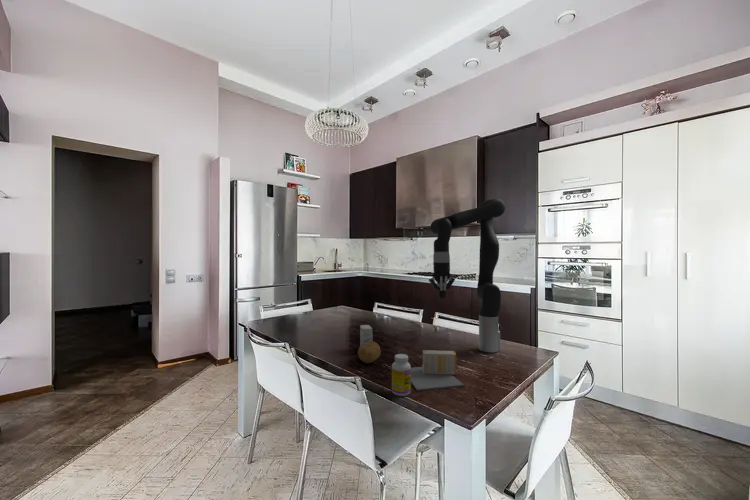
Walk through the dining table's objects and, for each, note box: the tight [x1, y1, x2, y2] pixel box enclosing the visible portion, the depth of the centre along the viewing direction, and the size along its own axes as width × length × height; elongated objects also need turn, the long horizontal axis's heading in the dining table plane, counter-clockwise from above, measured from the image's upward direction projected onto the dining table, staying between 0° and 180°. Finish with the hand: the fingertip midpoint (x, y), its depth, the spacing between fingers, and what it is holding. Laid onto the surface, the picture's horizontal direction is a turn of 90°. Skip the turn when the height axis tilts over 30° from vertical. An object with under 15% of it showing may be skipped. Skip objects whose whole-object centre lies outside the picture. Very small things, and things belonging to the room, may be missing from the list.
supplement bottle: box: [391, 353, 412, 397], centre depth 112 cm, size 7×7×13 cm
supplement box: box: [422, 349, 457, 375], centre depth 129 cm, size 8×5×13 cm
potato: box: [357, 341, 382, 364], centre depth 142 cm, size 10×14×8 cm
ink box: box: [359, 324, 374, 348], centre depth 158 cm, size 9×5×12 cm, turn 13°
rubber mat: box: [411, 366, 465, 392], centre depth 125 cm, size 18×20×1 cm
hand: (442, 298), depth 149 cm, fingers closed
